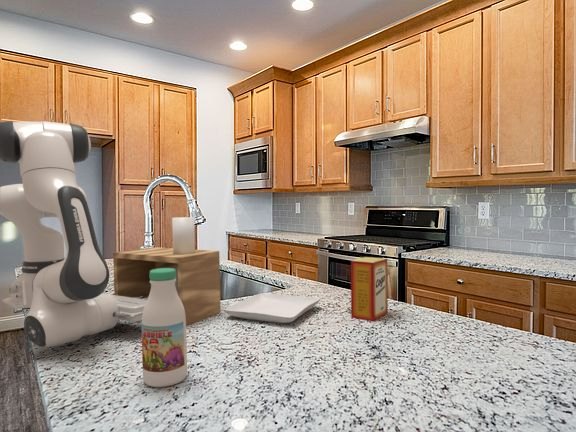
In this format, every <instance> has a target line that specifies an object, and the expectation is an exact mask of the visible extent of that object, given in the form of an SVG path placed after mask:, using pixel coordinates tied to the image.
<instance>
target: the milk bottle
mask: <svg viewBox="0 0 576 432" xmlns="http://www.w3.org/2000/svg"><path fill="white" fill-rule="evenodd" d="M149 278H150V283H151V290H150V294H149V297H148V300H147V302H146V304H145V307H144V310H143V314H142V320H141V355H142V356H141V357H142V381H143V382H144V384H145V385H146V386H148V387H153V388H165V387H171V386H174V385H176V384H179V383H181V382H182V381H184V380H185V379H186V377H187V374H188V349H187V348H188V347H187V343H188V342H187V326H186V317H185V310H184V306H183V304H182V302H181V300H180V298H179V296H178V293H177V291H176V287H175V281H176V270H175V269H173V268H160V269H154V270H151V271H150V273H149Z"/></svg>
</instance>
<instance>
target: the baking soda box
mask: <svg viewBox="0 0 576 432" xmlns="http://www.w3.org/2000/svg"><path fill="white" fill-rule="evenodd" d="M388 303H389V302H388V258H385V257H384V258H383V257H372V256H364V257H358V258H355V259H352V260H350V309H351V310H350V311H351V313H350V318H351V319H356V320H357V319H358V320H363V321H368V322H373V323H374V322H375V321H377V320H379V319H381V318H382V317H384V316H385V315H387V314H388V311H389V310H388Z"/></svg>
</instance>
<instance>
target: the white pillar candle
mask: <svg viewBox="0 0 576 432" xmlns="http://www.w3.org/2000/svg"><path fill="white" fill-rule="evenodd" d="M171 218H172V219H171V222H172V225H171V226H172V228H171V229H172V231H171V232H172V248H173V254H193V253H195V250H196V242H195V241H196V238H195V237H196V235H195V231H196V230H195V228H196V227H195V217H193V216H189V217H188V216H181V217H176V216H175V217H171Z"/></svg>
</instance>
